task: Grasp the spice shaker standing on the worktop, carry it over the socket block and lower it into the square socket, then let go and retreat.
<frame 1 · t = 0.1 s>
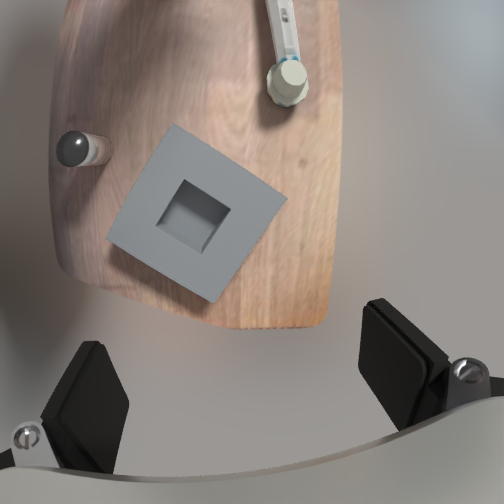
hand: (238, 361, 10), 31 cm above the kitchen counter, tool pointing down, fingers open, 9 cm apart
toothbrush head: (276, 29, 33), on the kitchen counter
socket block: (195, 210, 39), on the kitchen counter
spice shaker: (99, 150, 35), on the kitchen counter
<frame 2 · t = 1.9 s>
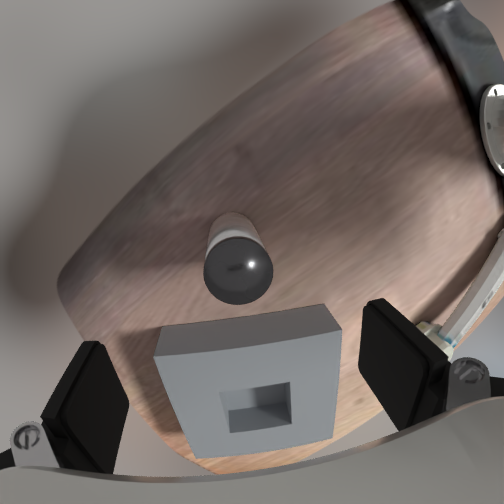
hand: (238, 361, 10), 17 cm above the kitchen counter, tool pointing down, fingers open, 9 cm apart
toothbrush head: (462, 283, 31), on the kitchen counter
socket block: (252, 378, 30), on the kitchen counter
spice shaker: (232, 235, 26), on the kitchen counter
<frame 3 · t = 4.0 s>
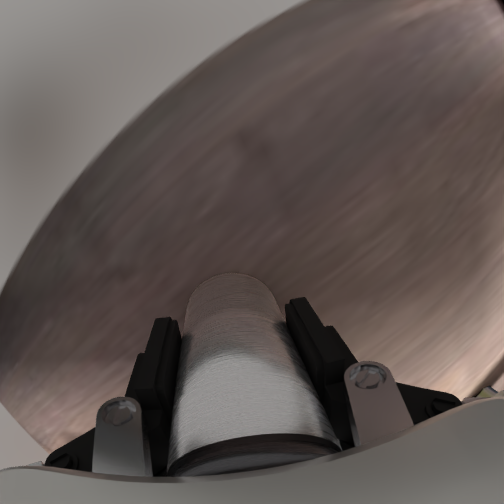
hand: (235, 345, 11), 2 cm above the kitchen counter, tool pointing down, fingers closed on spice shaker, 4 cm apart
spice shaker: (232, 315, 13), on the kitchen counter, touching gripper
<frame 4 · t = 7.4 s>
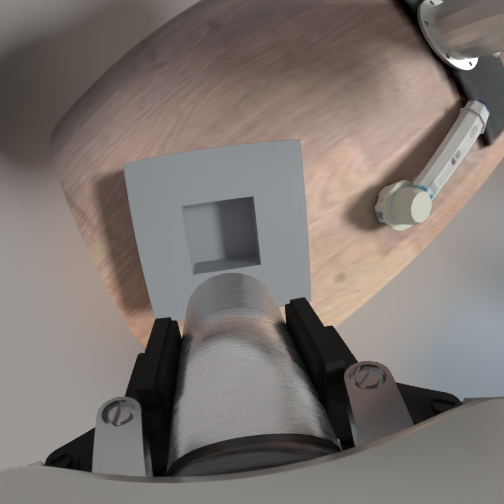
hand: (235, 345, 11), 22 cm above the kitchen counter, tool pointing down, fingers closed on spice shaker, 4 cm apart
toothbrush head: (431, 155, 33), on the kitchen counter
socket block: (220, 225, 32), on the kitchen counter
spice shaker: (231, 315, 13), point 20 cm above the kitchen counter, touching gripper
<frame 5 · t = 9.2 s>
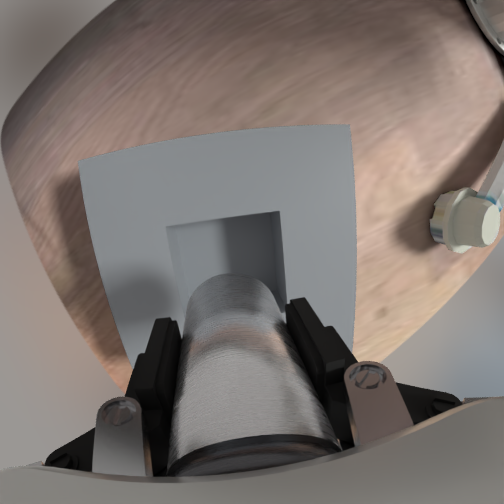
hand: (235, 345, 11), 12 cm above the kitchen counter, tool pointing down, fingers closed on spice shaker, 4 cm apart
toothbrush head: (487, 157, 23), on the kitchen counter
socket block: (226, 248, 22), on the kitchen counter
spice shaker: (232, 315, 13), point 10 cm above the kitchen counter, touching gripper
when the fingers open (5 cm above the kitchen counter, at t = 10.9 s): spice shaker drops 1 cm, resting on socket block.
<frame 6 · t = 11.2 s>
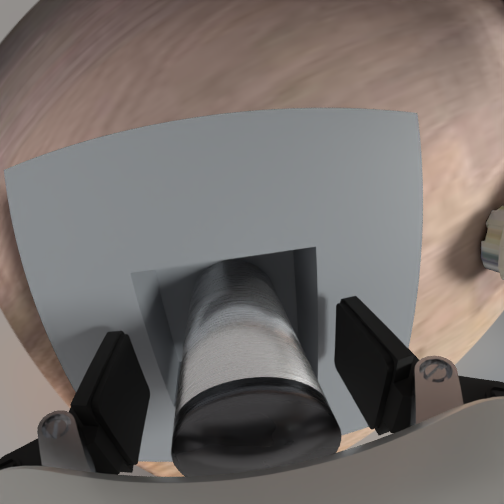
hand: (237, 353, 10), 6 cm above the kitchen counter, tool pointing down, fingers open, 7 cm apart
socket block: (228, 288, 16), on the kitchen counter
spice shaker: (233, 299, 14), point 2 cm above the kitchen counter, touching socket block
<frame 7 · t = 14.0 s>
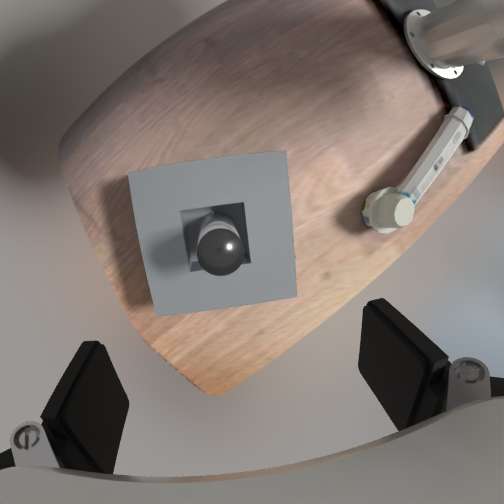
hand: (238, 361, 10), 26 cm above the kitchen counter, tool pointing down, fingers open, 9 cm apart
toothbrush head: (416, 161, 36), on the kitchen counter
socket block: (215, 227, 35), on the kitchen counter
spice shaker: (216, 229, 33), point 2 cm above the kitchen counter, touching socket block
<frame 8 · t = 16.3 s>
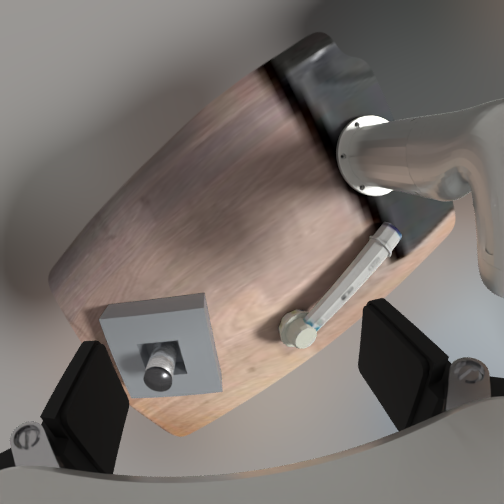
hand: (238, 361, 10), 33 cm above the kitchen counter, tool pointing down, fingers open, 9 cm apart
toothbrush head: (335, 280, 47), on the kitchen counter
socket block: (166, 341, 46), on the kitchen counter
spice shaker: (165, 346, 45), point 2 cm above the kitchen counter, touching socket block
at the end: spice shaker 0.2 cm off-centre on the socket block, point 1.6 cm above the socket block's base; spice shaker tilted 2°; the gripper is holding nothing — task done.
